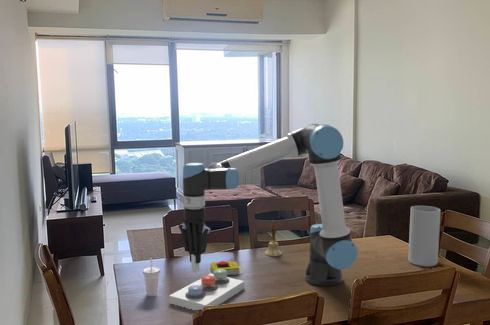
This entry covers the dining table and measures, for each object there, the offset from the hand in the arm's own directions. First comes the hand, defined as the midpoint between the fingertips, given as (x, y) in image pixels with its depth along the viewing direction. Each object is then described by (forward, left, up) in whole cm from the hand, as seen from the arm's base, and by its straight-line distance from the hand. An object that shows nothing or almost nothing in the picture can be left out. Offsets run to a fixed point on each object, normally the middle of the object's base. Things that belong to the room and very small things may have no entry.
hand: (195, 271), depth 170 cm
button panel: (0, -8, -12) cm, 14 cm away
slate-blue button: (0, 0, -8) cm, 8 cm away
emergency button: (+9, -33, -13) cm, 37 cm away
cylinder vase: (-62, -89, -12) cm, 109 cm away
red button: (0, -8, -7) cm, 11 cm away
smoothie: (+19, +2, -12) cm, 23 cm away
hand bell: (+2, -65, -12) cm, 66 cm away
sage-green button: (0, -16, -7) cm, 17 cm away
